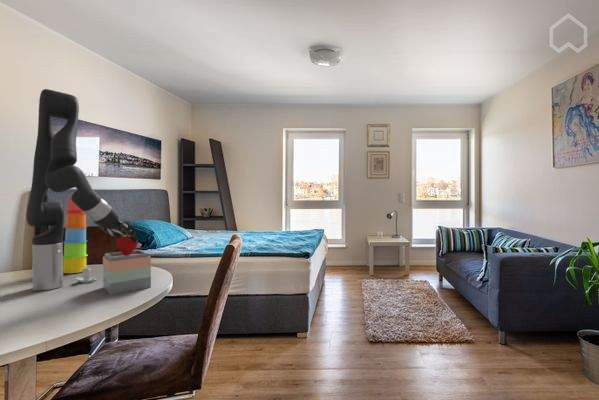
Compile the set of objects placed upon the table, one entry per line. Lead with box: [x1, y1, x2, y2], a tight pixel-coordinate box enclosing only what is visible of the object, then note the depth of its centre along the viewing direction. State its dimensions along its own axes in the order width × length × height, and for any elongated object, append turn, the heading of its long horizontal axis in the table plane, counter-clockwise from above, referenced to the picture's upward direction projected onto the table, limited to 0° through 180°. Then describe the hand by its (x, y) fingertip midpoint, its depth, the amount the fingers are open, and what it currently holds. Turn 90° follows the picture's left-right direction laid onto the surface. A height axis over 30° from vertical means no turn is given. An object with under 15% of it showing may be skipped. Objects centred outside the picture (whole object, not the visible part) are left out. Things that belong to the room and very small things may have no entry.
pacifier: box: [75, 267, 98, 284], centre depth 131 cm, size 7×6×6 cm
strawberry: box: [115, 235, 139, 256], centre depth 122 cm, size 6×8×10 cm
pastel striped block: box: [102, 249, 152, 295], centre depth 122 cm, size 14×12×13 cm
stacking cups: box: [63, 197, 89, 274], centre depth 147 cm, size 10×10×35 cm
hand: (129, 240), depth 123 cm, fingers open, 8 cm apart
